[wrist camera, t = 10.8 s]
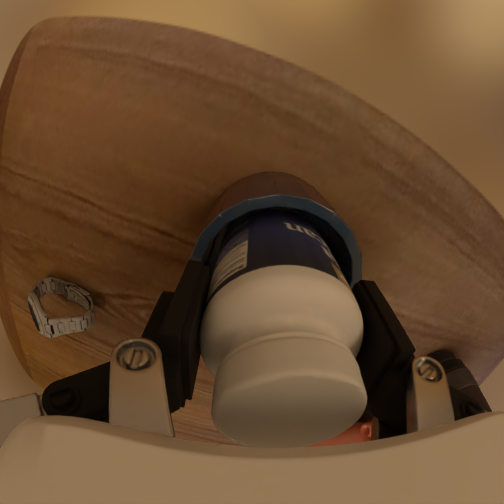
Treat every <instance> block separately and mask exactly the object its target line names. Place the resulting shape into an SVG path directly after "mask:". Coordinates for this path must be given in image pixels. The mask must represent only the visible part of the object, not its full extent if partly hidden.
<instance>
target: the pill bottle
mask: <svg viewBox="0 0 504 504" xmlns="http://www.w3.org/2000/svg"><path fill="white" fill-rule="evenodd" d="M363 333H364V327H363V319H362V314H361V311H360V309H359V306H358V304H357V301H356V299H355V297H354V294H353V292H352V290H351V288H350V287H349V285H348V283H347V281H346V279H345V277H344V275H343V273H342V272H341V270H340V268H339V266H338V264H337V262H336V260H335V258H334V257H333V255H332V253H331V251H330V250H329V248H328V246H327V244H326V243H325V241H324V239H323V237H322V235H321V234H320V232H319V231H318V229H317V228H316V226H315V225H314V224H313V223H312V222H311V221H310V220H309V219H308V218H307V217H306V216H304V215H303V214H301V213H300V212H298V211H296V210H293V209H291V208H287V207H280V206H277V207H270V208H264V209H258V210H253V211H250V212H248V213H246V214H244V215H242V216H240V217H239V218H237V219H236V220H235V221H234V222H233V223H232V225H231V226H230V227H229V228H228V230H227V232H226V233H225V235H224V238H223V240H222V243H221V246H220V249H219V253H218V257H217V261H216V264H215V268H214V272H213V276H212V280H211V284H210V288H209V292H208V296H207V300H206V303H205V308H204V311H203V316H202V320H201V326H200V332H199V344H200V350H201V354H202V357H203V359H204V362H205V363H206V365H207V367H208V368H209V370H210V371H211V372H212V374H213V375H214V376H215V377H216V379H215V384H214V392H213V401H212V411H211V414H212V419H213V422H214V424H215V426H216V427H217V429H218V430H219V431H220V432H221V433H222V434H223V435H225V436H226V437H228V438H230V439H231V440H234V441H236V442H238V443H241V444H244V445H247V446H251V447H305V446H310V445H314V444H317V443H320V442H323V441H326V440H328V439H331V438H333V437H335V436H337V435H339V434H341V433H342V432H344V431H345V430H347V429H348V428H349V427H351V426H352V425H353V424H354V423H355V422H357V421H358V419H359V418H360V417H361V416H362V414H363V412H364V410H365V408H366V404H367V393H366V390H365V386H364V383H363V380H362V377H361V373H360V369H359V366H358V363H357V361H356V357H357V355H358V353H359V351H360V348H361V345H362V341H363Z"/></svg>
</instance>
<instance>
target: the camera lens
mask: <svg viewBox="0 0 504 504" xmlns="http://www.w3.org/2000/svg"><path fill="white" fill-rule="evenodd" d="M429 357H432V358H433V359H435V360H437V361H438V362H439V363H440V364H441V365H442V367H443V368H444V370H445V373H446V377H447V382H448V385H450V386H452V387H454V388H455V389H457V390H459V391H461V392H463V393H464V394H466V395H468V396H470V397H471V398H473V399H475V400H476V401H478V402H479V403H480V404H481V406H482V408H483V411H488V412H492V411H491V409H490V407H489V405H488V403H487V401H486V399H485V397H484V396H483V394H482V392H481V391H480V388H479V386H478V384H477V382H476V380H475V379H474V377H473V375H472V374H471V372H470V371H469V370H468V368H467V367H466V366H465V365H464V364H463V362H462V361H461V360H460V359H456V357H455V356H454V355H453V353H452V352H450V351H439V352H436V353H433V354H431V355H429Z"/></svg>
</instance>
